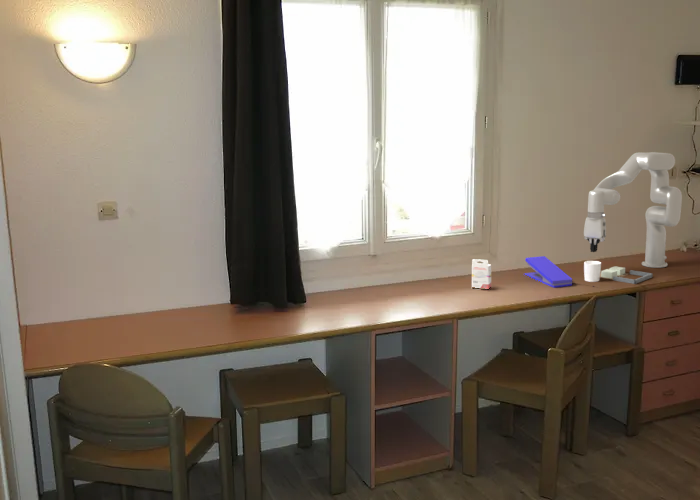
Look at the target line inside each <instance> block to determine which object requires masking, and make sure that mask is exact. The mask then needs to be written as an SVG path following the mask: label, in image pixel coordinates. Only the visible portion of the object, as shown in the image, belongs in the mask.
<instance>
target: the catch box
mask: <svg viewBox="0 0 700 500" xmlns="http://www.w3.org/2000/svg"><path fill="white" fill-rule="evenodd" d="M629 275H634V276H640V277H637V278H635V279H632V278H627V277H616V276H613V280H612V281H615V282H621V283H626V284H634V285H636V284H639V283H642V282H644V281H647V280H649V279H651V278H653V275H654V273H651V272H645V271H639V270H634V269H633V270H632V269H630V270H629Z"/></svg>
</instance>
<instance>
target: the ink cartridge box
mask: <svg viewBox="0 0 700 500" xmlns="http://www.w3.org/2000/svg"><path fill="white" fill-rule="evenodd" d="M480 262H481V263H480ZM472 287H475V288H485V289H489V288H490V287H491V288H492V264H489V260H488V259H479V258H478V259H475V258H473V259H471V288H472ZM491 288H490V289H491ZM490 289H489V290H490Z"/></svg>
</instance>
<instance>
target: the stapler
mask: <svg viewBox="0 0 700 500" xmlns="http://www.w3.org/2000/svg"><path fill="white" fill-rule="evenodd" d="M524 261H525V262H526V263H527V266H529V267H530V268H531V269H532V270H534V271H535V272H534V271H533V272H526V273H524V272H523V275H524V274H525V275H527V276H529V277H531V278H530V279H532V278H533V279H532V280H534V279H535V281H537V280H538V281H537V282H539V281H540V283H541V282H542V284H544V285H547V286H549V287H551V288H563V287H571V286H573V278H572V277H570V275H568V274H567V273H565V272H564V271H563V270H562V269H561V268H559V266H557V265H556V264H555V263H554V262H553V261H551V260H550V259H548V257H546V256H544V255H543V256H541V255H540V256H534V257H533V256H532V257H531V256H530V257H525V260H524ZM525 275H524V276H525ZM527 276H526V277H527ZM529 277H528V278H529Z"/></svg>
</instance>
